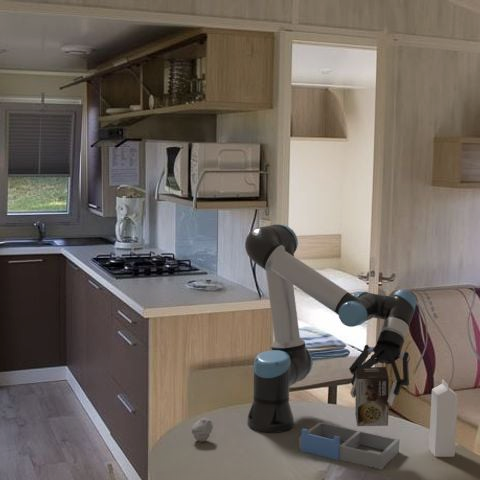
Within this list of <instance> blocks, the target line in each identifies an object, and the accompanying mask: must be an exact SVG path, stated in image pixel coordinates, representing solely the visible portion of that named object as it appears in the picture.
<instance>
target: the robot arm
mask: <svg viewBox="0 0 480 480" xmlns="http://www.w3.org/2000/svg"><path fill="white" fill-rule="evenodd" d="M298 241H299V240H298V237H297V234H296V232H295V231H294V230H293V229H292V228H291V227H289V226H287V225H285V224H279V223H277V224H275V223H274V224H271V225H266V226H265V225H264V226H260V227H259V226H258V227H256V228H254V229H252V230H251V231H250V232H249V233H248V235H247V236H246V239H245V241H244V247H245V252H246V254H247V256H248V257H249V259H250V260H252V262H253V263H255V264H256V265H257V266H259V267H260V268H261V269H263V270H264V271H265V274H266V280H267V288H268V289H267V290H268V296H269V304H270V311H271V321H272V326H273V327H272V328H273V337H274V340H273V342H272V344H271V345H270V347H271V348H270V350H266V351H265V350H264V351H262V352H260V353H258V354H257V355H256V356H255V358H254V363H253V364H254V365H253V397H252V398H253V401H252V403H251V406H250V409H249V412H248V415H247V426H248V427H249V428H250V429H252V430H255V431H258V432H263V433H282V432H286V431H289V430H291V429H292V428H293V427H294V424H295V423H294V422H295V420H294V415H293V411H292V408H291V405H290V404H291V403H290V387H292V386H293V385H295V384H297V383H298V382H301V381H303V380H304V379H305V378H307V376H308V375H309V374H310V373H311V371H312V368H313V364H314V361H313V356H312V353H311V352H310V350H308V348H307V346H306V342H305V340H304V339H302V338H301V337H300V328H299V321H298V319H299V318H298V312H297V305H296V297H295V296H296V294H295V289H294V288H295V287H296V288H298V289H299V290H300V291H302V292H304V293H305V294H306V295H308V296H310V297H311V298H312V299H314V300H316V301H317V302H318V303H320V304H321V305H323V306H324V307H326V308H327V309H329V310H330V311H332V312H333V313H335V314H336V315H338V318H339V321H340V322H341V323H342V324H343V325H345V326H346V327H350V328H352V327H357V326H361V325H363V324H364V323H365V322H366V321H367V322H368V321H369V320H371V319H378V320H379V319H380V320H384V322H383V324H382V326H381V330H380V333H379V336H378V338H377V341H376V344H375V346H369V345H368V344H365V345H364V347H363V350H362V352H360V353H359V355H358V356H357V358H356V359H355V360H354V362H353V363H352V365H351V366H350V367H349V372H350V374H351V375H353V376H352V378H351V382H350V383H351V390H350V392H349V393H350V395H351V397H352V398H355V399H356V368H365V367H373V366H375V365H377V364H386V365H391V367H392V370H393V374H394V377H395V380H396V381H393V383H392V384H391V385H392V386H391V389H390V391H389V397H388V400H387V402H388V407H392V406H393V403H394V400H395V397H396V396H399V395H400V392H401V388H402V387H404V386H406V387H407V386H409V385H410V378H409V377H410V376H409V375H410V374H409V362H410V360H411V359H410V358H411V357H410V354H409V352H407V351H406V352H401V351H402V350H403V346H404V343H405V339H406V337H407V334H408V330H409V329H410V328H409V327H410V324H411V321H412V319H413V316H414V313H415V311H416V310H415V309H416V306H417V301H418V300H417V297H416V295H415V294H414V293H412V292H410V291H409V290H405V289H399V290H396V291H395V292H394V293H393V295H384V294H377V293H371V292H368V291H356V292H355V293H354V294H352V293H350V292H349V291H347V290H345V289H344V288H342V287H341V286H340V285H338V284H337V283H335V282H333V281H332V280H330V279H329V278H327V277H326V276H325V275H323V274H321V273H320V272H318V271H316V270H315V269H314V268H312V267H310V266H309V265H307V264H306V263H305V262H303V261H302V260H300V259H299V258H297V257H296V256H295V253H296V251H297V249H298V245H299V242H298ZM372 353H373V354H372ZM371 354H372V355H371ZM369 355H371V356H370V357H369ZM368 357H369V358H368ZM400 358H401V361H402V376H403V377H402V378H401V375H400V373H399V370H398V367H397V363H396V361H397V360H398V359H400Z"/></svg>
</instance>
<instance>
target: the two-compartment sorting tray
mask: <svg viewBox="0 0 480 480" xmlns="http://www.w3.org/2000/svg"><path fill="white" fill-rule="evenodd" d="M298 438H299V439H298V441H299V442H298V450H299V451H300V452H304V453H309V454H313V455H316V456H320V457H324V458H329V459H332V460H337V461H339V460H341V461H345V462H349V463H353V464H356V465H360V464H363V465H362V466H364V465H367V466H366V467H368V466H371V467H370V468H372V467H374V468H373V469H377V468H378V469H377V470H381V469H382V468H383V467H384V466H385V465H386V464H387V463H388V462H389V461H390V460H391V459H392V460H393V459H394V458H395V456H396V455H398V454H399V453H400V440H401V439H400V438H397V437H396V438H395V437H392V436H386V435H382V434H378V433H373V432H369V431H366V430H365V431H363V430H359V429H355V428H350V427H346V426H341V425H337V424H332V423H327V422H323V421H319V422H318V423H316V424H315V425H314V426H312V427H310V428H309V429H308V428H301V435H299V437H298ZM340 441H344V442H343V443H341V442H340ZM340 443H341V444H340ZM360 445H362V446H366V447H370V448H375V449H379V450H383V451H382V452H381V453H376V452H372V451H367V450H363V449H360V448H358V447H359V446H360ZM390 462H391V461H390ZM390 462H389V463H390ZM357 463H358V464H357ZM389 463H388V464H389ZM388 464H387V465H388ZM387 465H386V466H387ZM386 466H385V467H386ZM385 467H384V468H385ZM384 468H383V469H384ZM383 469H382V470H383Z"/></svg>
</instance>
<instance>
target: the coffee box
mask: <svg viewBox="0 0 480 480" xmlns="http://www.w3.org/2000/svg"><path fill="white" fill-rule="evenodd" d="M389 387H390V376H389V373H388V370H387V367H386V366H374V367H373V366H372V367H365V368H356V396H355V414H354V415H355V422H356V426H357V427H381V426H382V427H386V426H387V427H388V426H389V404H388V402H387V400H388V397H389V394H390V391H389V390H390V388H389Z"/></svg>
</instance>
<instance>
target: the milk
mask: <svg viewBox="0 0 480 480" xmlns="http://www.w3.org/2000/svg"><path fill="white" fill-rule="evenodd" d="M458 398H459V395H458V394H457V393H456V392H455V391H454V390H453V389H451V387H449V384H448V383H447V382H446V381H445V380H444V379H441V383H440V384H439V385H437V386H435V387H434V388H432V389H431V398H430V399H431V402H430V417H429V419H430V420H429V422H430V423H429V441H428V450H429V451H430V452H431V454H432V455H433V457H435V458H438V457H439V458H443V457H444V458H447V457H449V458H450V457H451V458H452V457H453V458H454V457H455V455H456V454H455V451H456V437H457V436H456V434H457V416H458V415H457V414H458V402H459V401H458Z"/></svg>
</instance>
